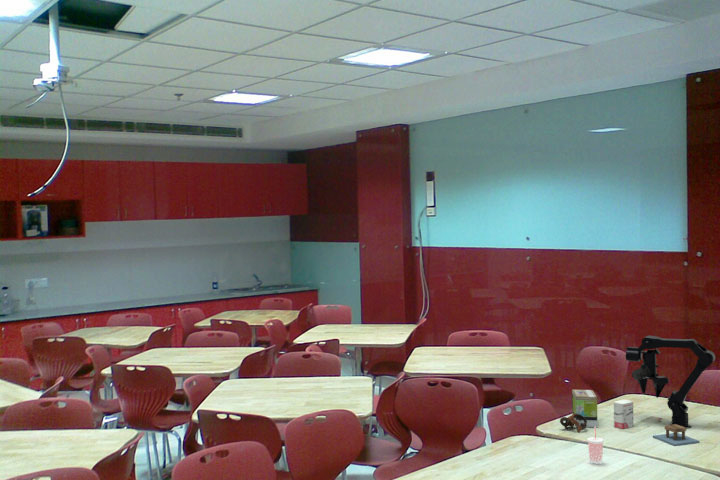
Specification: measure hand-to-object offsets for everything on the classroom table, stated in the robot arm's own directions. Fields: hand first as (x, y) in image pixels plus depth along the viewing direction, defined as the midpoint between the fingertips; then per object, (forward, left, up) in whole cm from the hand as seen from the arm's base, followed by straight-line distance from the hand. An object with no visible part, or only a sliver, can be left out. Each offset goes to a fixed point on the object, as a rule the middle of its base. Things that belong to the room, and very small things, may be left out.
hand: (650, 395), depth 314 cm
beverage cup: (+58, +38, -13) cm, 71 cm away
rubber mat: (+9, +26, -13) cm, 30 cm away
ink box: (+16, +1, -13) cm, 21 cm away
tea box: (+29, -10, -13) cm, 34 cm away
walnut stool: (+9, +26, -12) cm, 30 cm away
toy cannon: (+41, -3, -13) cm, 43 cm away
